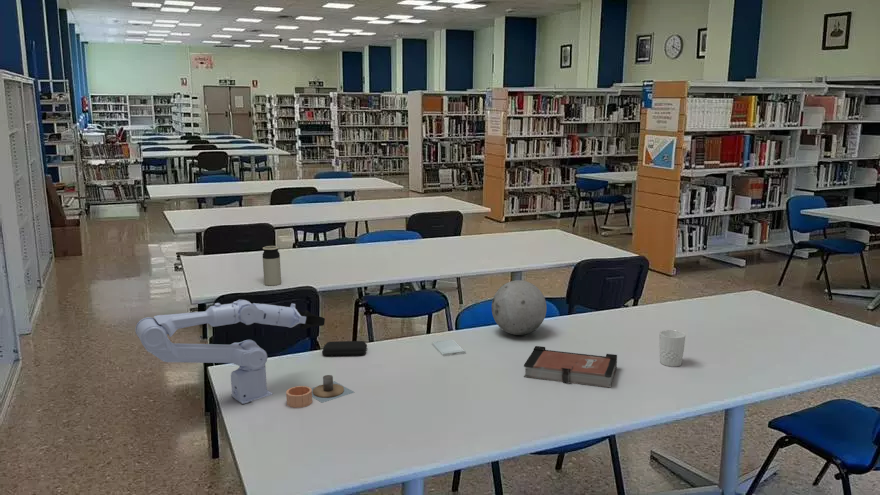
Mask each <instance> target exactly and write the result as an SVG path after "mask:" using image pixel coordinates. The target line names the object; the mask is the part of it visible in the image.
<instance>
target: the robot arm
mask: <svg viewBox="0 0 880 495" xmlns="http://www.w3.org/2000/svg"><path fill="white" fill-rule="evenodd" d="M325 320H326V319H325V318H324V317H322V316H319V315H316V314H313V313H311V312H310V311H309V310H307V309H304V310H303V311H301V310H299V309H297V308H296V303H291V304H290V306H283V305H276V304H267V303H259V302H258V303H255V302H253V303H251V302H250V301H249V300H246V299H238V300H236V301H233V302H231V303H224V304H221V303H220V302H216V303H214V305H210V306H209V307H208V308H207V309H206V310H205V311H193V312H183V313H182V312H181V313H173V314H172V313H170V314H158V315H154V316H153V317H151V316H148V317H144V318H142V319H140V320H139V321H138V322H137V323H136V325H135V328H134V329H135V330H134V331H135V334H136V336H137V338H138V339H139V341H140V343H141V345H142V346H143V347H144V349H145V351H146V353H147V352H148V353H150V354H151V355H153V356H154V357H156V358H157V359H159V360H161V362H165V363H192V364H194V363H196V364H198V363H202V364H203V363H204V364H205V363H207V364H211V363H212V364H215V363H216V364H217V363H218V364H233V365H236V366H239V367H238V368H236V369H235V370H232V371H231V373H230V385H231V394H230V396H231V397H232V398H234V400H236V401H237V402H239V403H240V404H243V405H244V404H248V403H251V402H252V401H255V400H259V399H262V398H267V397H269V396H273V394H274V393H273V392H271V391H270V390H268V386H267V385H268V383H267V372H266V370H267V367H266V364H267V363H268V362H267V361H268V353H267V351H266V350H264V348H262V347H260V346H259V345H258V344H257V342H256V341H255V340H252V339H246V340H243V341H240V342H233V343H231V344H217V343H215V344H213V343H181V342H180V343H177V342H176V343H173V341H171V339H169V338H171V337H172V336H173V335H174V334H175V333H176V332H177V330H179V329H183V328H189V327H193V326H201V325H204V324H208V325H210V327H215V328H216V327H220V326H226V325H233V324H238V323H243V324H245V325H246V326H250V325H252V324H254V323H255V324H259V325H260V324H261V325H270V326H276V327H277V326H278V327H287V328H293V327H296V326H298V325H300V327H299V329H301V330H306V329H309V328H313V327H322V326H325ZM168 336H169V337H168Z"/></svg>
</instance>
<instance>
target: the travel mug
mask: <svg viewBox="0 0 880 495" xmlns="http://www.w3.org/2000/svg"><path fill="white" fill-rule="evenodd" d="M279 248H280V247H279V246H276V245H266V246H264V247H262V250H263V253H262V268H263V283H264V285H265V286H267V287H269V286H270V287H274V286H279V285H281V284H282V272H281V269H282V268H281V255H280V252H279Z"/></svg>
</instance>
